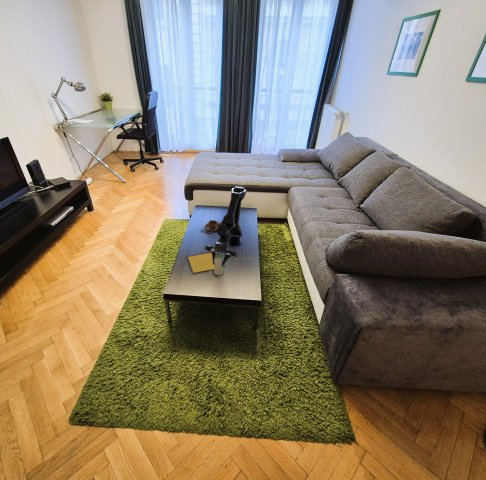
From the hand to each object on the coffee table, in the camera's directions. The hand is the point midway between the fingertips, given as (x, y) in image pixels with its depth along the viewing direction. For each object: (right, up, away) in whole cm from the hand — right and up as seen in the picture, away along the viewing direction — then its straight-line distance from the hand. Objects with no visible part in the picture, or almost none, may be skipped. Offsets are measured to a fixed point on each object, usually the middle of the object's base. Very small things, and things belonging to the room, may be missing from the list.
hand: (217, 265), depth 152 cm
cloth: (-8, +1, +13) cm, 15 cm away
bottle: (0, -5, +5) cm, 7 cm away
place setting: (-1, +22, +46) cm, 51 cm away
